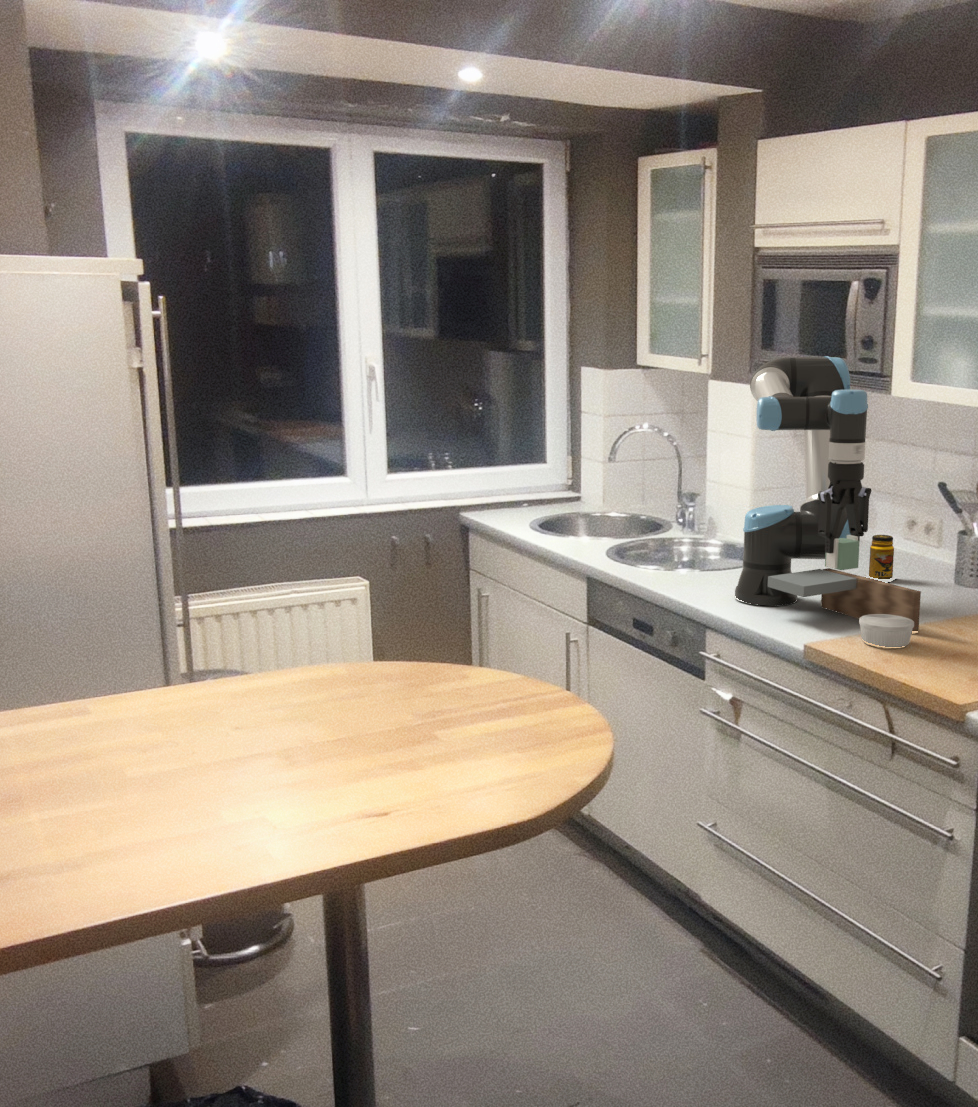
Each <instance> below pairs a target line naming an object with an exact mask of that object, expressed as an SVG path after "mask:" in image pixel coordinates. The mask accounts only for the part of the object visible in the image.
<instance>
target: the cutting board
mask: <svg viewBox="0 0 978 1107" xmlns="http://www.w3.org/2000/svg"><path fill="white" fill-rule="evenodd" d="M822 570H826V571H830V572H834V573H838V574H842V575H846V576H850V577H853V578H857V585H856V589H852V590H846V591H840V592H834V593H827V594H821V598H820V599H821V601H820V608H821V607H823V608H822V609H825V608H827V609H826V610H828V609H830V610H829V611H832V610H833V611H832V612H835V611H837V612H836V613H838V612H839V614H842V613H843V614H842V615H845V614H846V615H845V616H849V617H851V618H855V619H860V617H862V616H864V615H870V614H887V615H896V616H902V617H906V618H909V619H911V620H913V621H914V627H913V629H912V631H918V632H919V626H920V625H919V624H920V611H921V610H920V609H921V598H922V597H921V595H922V591H920V590H917V589H912V588H909V587H904V586H902V585H897V584H894V583H885V582H882V581H878V580H874V579H870V578H866V577H864V576H861V575H857V574H853V573H850V572H845V571H843V570H838V569H834V568H830V567H826V568H822Z"/></svg>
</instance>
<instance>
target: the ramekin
mask: <svg viewBox="0 0 978 1107" xmlns="http://www.w3.org/2000/svg"><path fill="white" fill-rule="evenodd" d="M858 623H859V628H860V638H861V640H862V639H863V640H864V641H866V642H868V643H872V644H875V645H879V646H885V647H902V646H906V645H907V646H908V645H909V644H910V641H911V637H912V635H913V634H912V629H913V627H914V621H913V620H911V619H909V618H906V617H902V616H896V615H887V614H870V615H864V616H862V617H860V619H859V620H858ZM863 640H862V641H863ZM907 646H906V647H907Z"/></svg>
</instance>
